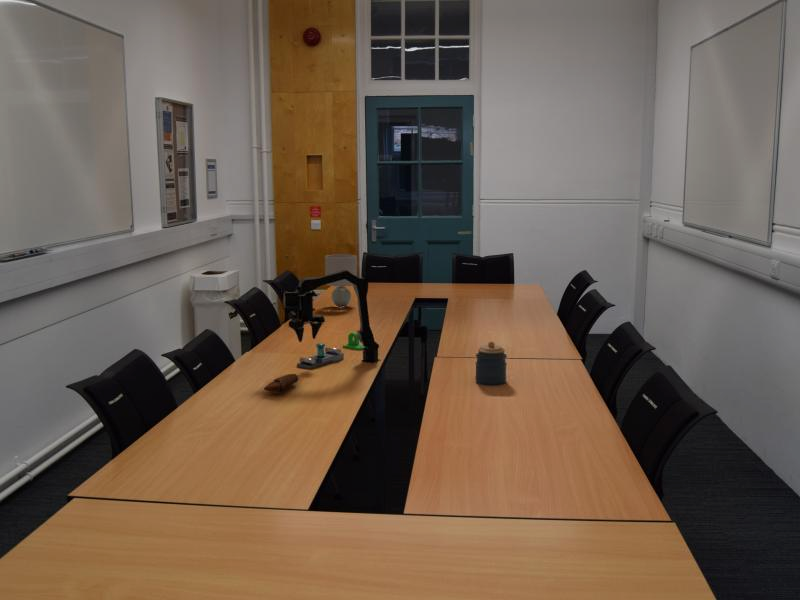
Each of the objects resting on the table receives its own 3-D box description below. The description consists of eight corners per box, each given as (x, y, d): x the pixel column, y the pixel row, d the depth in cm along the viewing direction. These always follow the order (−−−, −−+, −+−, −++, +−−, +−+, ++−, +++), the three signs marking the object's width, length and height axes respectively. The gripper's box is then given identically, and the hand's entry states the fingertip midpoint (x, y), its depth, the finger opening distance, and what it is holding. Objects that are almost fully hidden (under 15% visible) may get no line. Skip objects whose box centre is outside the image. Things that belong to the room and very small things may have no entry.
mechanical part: (342, 349, 406) (342, 333, 405) (351, 347, 411) (350, 331, 410) (360, 352, 399) (360, 336, 398) (368, 350, 403) (368, 334, 402)
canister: (474, 386, 334) (475, 344, 331) (475, 378, 346) (476, 338, 344) (506, 387, 332) (507, 345, 329) (506, 379, 345) (507, 338, 342)
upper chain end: (343, 359, 382) (343, 348, 382) (321, 365, 369) (321, 354, 369) (330, 357, 387) (330, 346, 386) (308, 363, 374) (308, 352, 373)
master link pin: (326, 362, 375) (326, 343, 374) (321, 364, 372) (321, 345, 371) (320, 361, 378) (320, 342, 376) (314, 363, 374) (314, 344, 373)
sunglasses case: (279, 378, 340) (288, 366, 338) (292, 389, 340) (300, 377, 338) (262, 389, 323) (271, 377, 321) (275, 400, 322) (284, 388, 321)
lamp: (362, 311, 518) (362, 256, 513) (334, 314, 507) (334, 258, 502) (347, 307, 535) (347, 253, 529) (320, 309, 524) (319, 255, 519)
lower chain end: (332, 362, 376) (332, 354, 375) (310, 369, 363) (310, 360, 362) (319, 360, 380) (319, 352, 380) (296, 366, 367) (296, 358, 367)
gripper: (306, 302, 377) (307, 335, 379) (279, 307, 362) (279, 341, 364) (325, 304, 371) (325, 337, 373) (297, 309, 355) (298, 344, 358)
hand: (307, 340), depth 367 cm, fingers open, 9 cm apart
